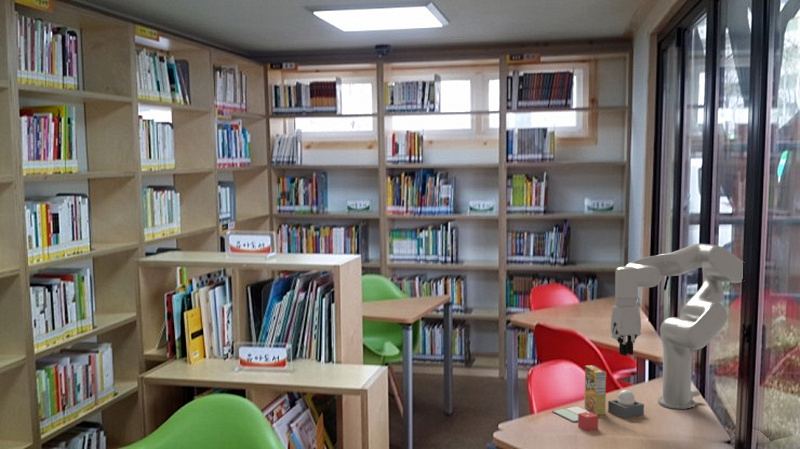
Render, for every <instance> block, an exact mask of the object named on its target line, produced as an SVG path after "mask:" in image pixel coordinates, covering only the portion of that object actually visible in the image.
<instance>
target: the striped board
mask: <svg viewBox="0 0 800 449" xmlns="http://www.w3.org/2000/svg"><path fill="white" fill-rule="evenodd" d="M551 412H552V413H553V414H554V415H555V414H556V415H557V416H559V417H561V418H563V419H565V420H568V421H570V422H571V423H578V414H579V413H584V412H590V410H586V409H584V408H582V407H579V406H578V405H576V406H570V407H566V408H561V409H556V410H552V411H551ZM599 418H600V415H598V419H599Z"/></svg>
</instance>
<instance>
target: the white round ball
mask: <svg viewBox="0 0 800 449" xmlns="http://www.w3.org/2000/svg"><path fill="white" fill-rule="evenodd" d="M617 399H618V404H620V405H622V406H625V407H627V406H631V405H634V401H635V395H634V393H633V392H632V391H631V390H629V389H622V390H620V391H619V393H618V394H617Z"/></svg>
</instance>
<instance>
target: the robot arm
mask: <svg viewBox="0 0 800 449" xmlns="http://www.w3.org/2000/svg"><path fill="white" fill-rule="evenodd" d="M743 262H744V261H743V260H742V259H741V258H739V257H738V256H736V255H735V254H733V253H732V252H730V251H729V250H727V249H726V248H724V247H722V246H720V245H716V244H708V243H694V244H691V245H689V246H686V247H683V248H680V249H678V250H675V251H672V252H668V253H661V254H657V255H651V256H646V257H642V258H640V259H636V260H634V261H631V262H628V263H627V264H626V265H623V266H618V267H617V268H616V269H615V273H614V274H615V275H614V276H615V277H614V278H615V281H614V282H615V286H614V288H615V292H614V293H615V294H614V296H615V297H614V298H615V299H614V305H613V307H612V311H611V318H610V333H611V334H612V335H611V338H612V339H614V340H616V341H617V343H618V344H619V355H622V356H623V357H624V356H625V357H626V356H628V355H630V356H633V355H634V344H635V342H636V340H637V338H638V337H639V336H640V335H641V334H642V333H641V329H642V328H641V327H642V319H641V310H640V306H639V302H640V298H639V287H642V288H654V287H657V286H658V285H659V284H660V283H661V281H662V277H674V276H681V275H684V274H687V273H689V272H691V271H695V270H697V269H700V268H702V285H701V286H700V288H699V289H698V290H697V291H696V292H695V293H694V295H693V296H691V298H690V299H689V300H688V301H687V302H686V303H685V304H684V306H683V308H682V310H681V316H682V317H676V316H675V317H674V316H673V317H672V316H671V317H667V318H665V319H664V320H663V321H662V322H661V325H660V329H659V331H660V332H659V333H660V338H661V342H662V343H661V344H662V395H661V396H659V397H658V398H657V402H658V404H659V405H660V406H663V407H666V408H670V409H675V410H688V409H687V408H690V409H692V408H691V407H693V408H694V407H695V406H696V401H695V400H693V398H695V397H699V396H700V395H701V394H700V391H699V390H694V391H692V390H691V389H692V355H691V350H698V351H699V350H701V349H703V348H704V347H705V346H707V345H708V344H709V343H710V342H711V341H712V340H713V339H714V338H715V337H716V336H717V335H718V334H719V332H720V331H722V329H723V328H724V326H725V325H726V322H727V319H728V311H727V309H726V306H724V305H723V304H722V302H723V299H724V296H725V295H724V287H723V282H724V283H725V282H726V283H730V284H731V283H732V284H740V283H742V279H743ZM690 349H691V350H690Z"/></svg>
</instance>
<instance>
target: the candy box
mask: <svg viewBox="0 0 800 449" xmlns="http://www.w3.org/2000/svg"><path fill="white" fill-rule="evenodd" d="M606 388H607V372H606V370H603V369H601V368H600V367H598V366H597V365H584V408H586V409H587V411H589V412H591V413H593V414H596V415H598V416H600V415H606V402H607V401H606V399H607V398H606V397H607V395H606V394H607V393H606V392H607V390H606Z"/></svg>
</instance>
